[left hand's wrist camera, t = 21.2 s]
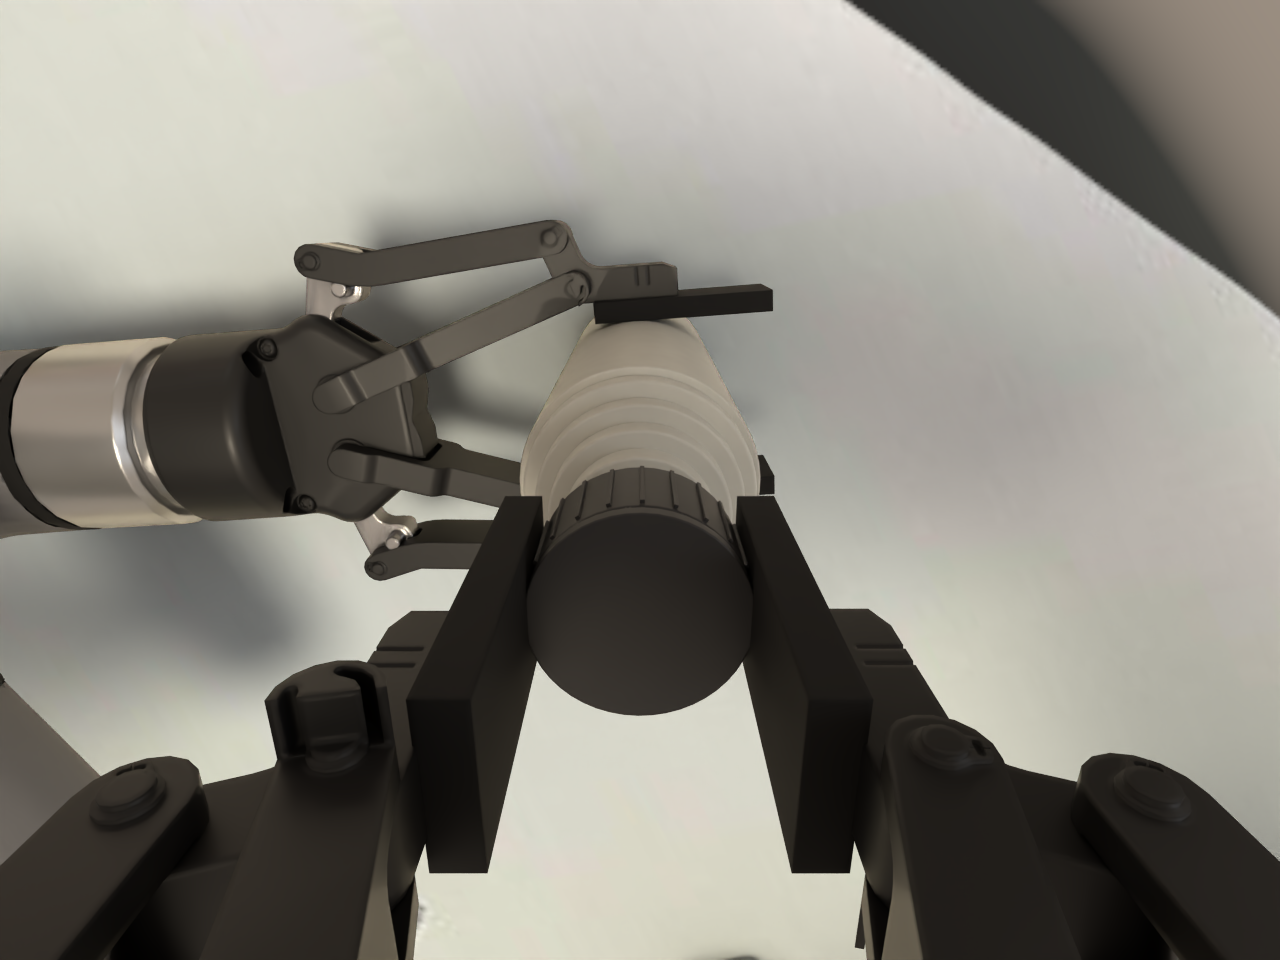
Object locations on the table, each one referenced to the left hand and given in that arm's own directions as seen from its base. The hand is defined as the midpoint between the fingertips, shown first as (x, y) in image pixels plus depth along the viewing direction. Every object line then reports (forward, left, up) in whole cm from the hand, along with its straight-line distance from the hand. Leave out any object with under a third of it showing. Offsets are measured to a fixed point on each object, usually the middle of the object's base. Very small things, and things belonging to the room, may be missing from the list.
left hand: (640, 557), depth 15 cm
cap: (0, 0, +2) cm, 2 cm away
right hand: (-4, -3, -14) cm, 15 cm away
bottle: (0, 0, -21) cm, 21 cm away
